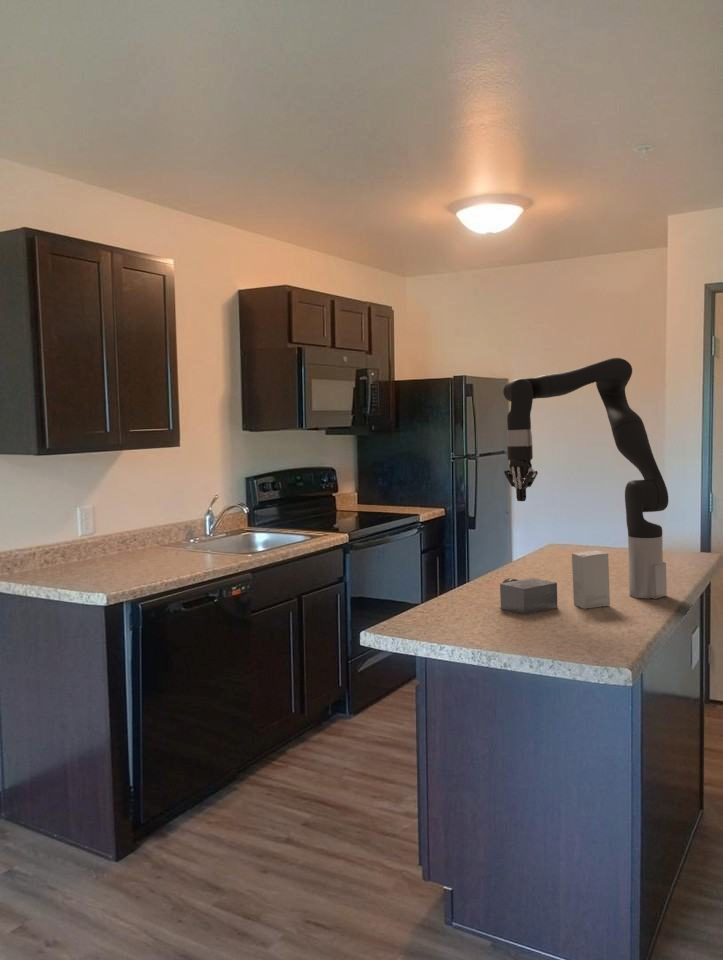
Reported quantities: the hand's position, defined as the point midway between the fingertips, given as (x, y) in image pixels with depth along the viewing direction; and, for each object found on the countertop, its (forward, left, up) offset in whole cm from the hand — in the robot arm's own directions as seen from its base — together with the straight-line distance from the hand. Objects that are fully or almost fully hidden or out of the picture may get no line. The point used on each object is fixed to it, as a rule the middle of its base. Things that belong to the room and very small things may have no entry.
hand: (521, 500), depth 240 cm
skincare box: (-29, +8, -27) cm, 41 cm away
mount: (-18, +21, -27) cm, 38 cm away
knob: (-15, +20, -26) cm, 36 cm away
